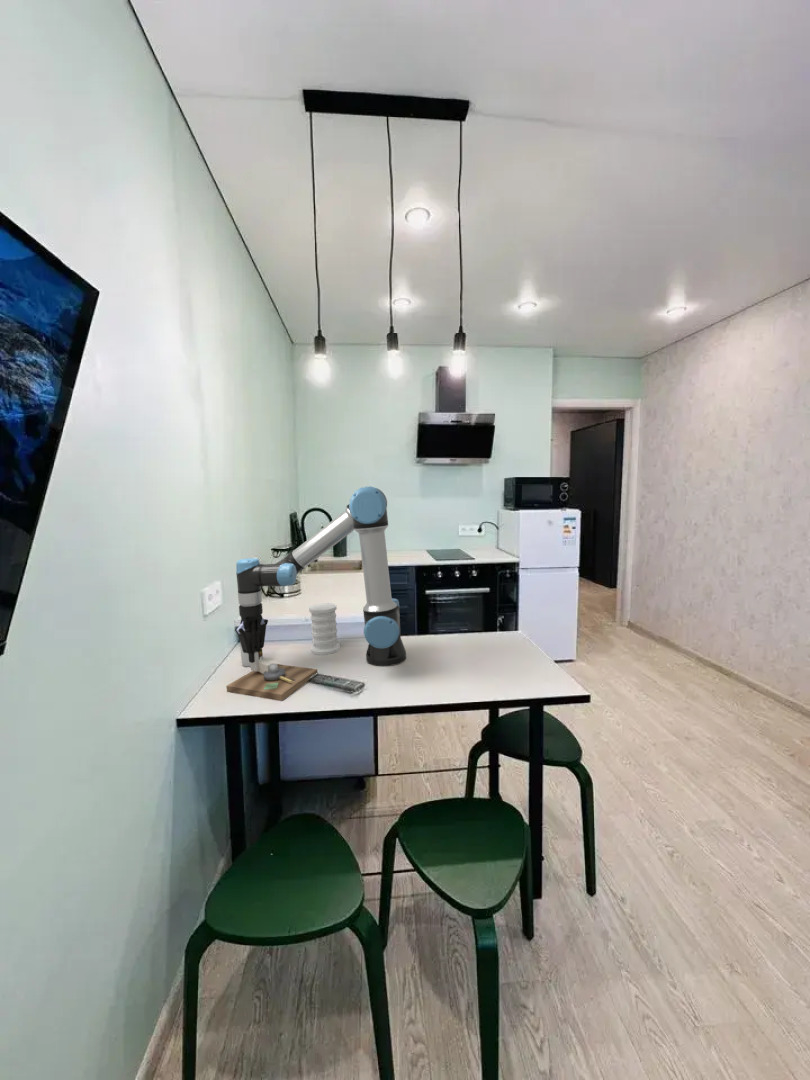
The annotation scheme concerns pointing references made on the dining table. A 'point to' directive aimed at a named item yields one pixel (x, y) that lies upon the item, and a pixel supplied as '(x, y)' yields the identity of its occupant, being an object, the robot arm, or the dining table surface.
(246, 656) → the milk bottle
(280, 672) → the tuning dial
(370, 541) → the robot arm
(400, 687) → the dining table surface
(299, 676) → the board
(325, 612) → the decorative container
